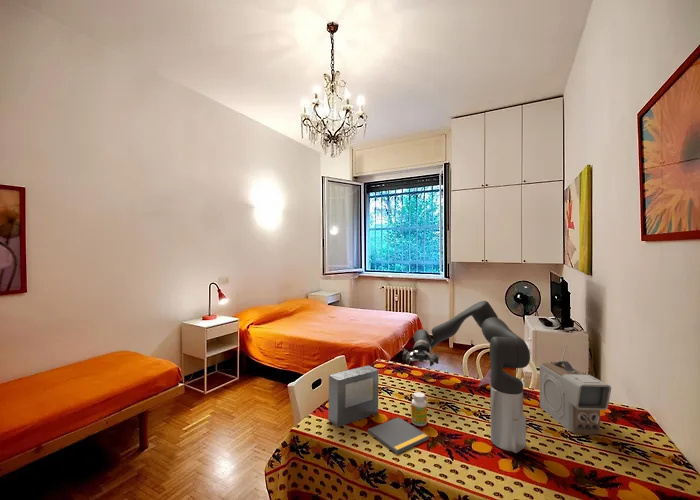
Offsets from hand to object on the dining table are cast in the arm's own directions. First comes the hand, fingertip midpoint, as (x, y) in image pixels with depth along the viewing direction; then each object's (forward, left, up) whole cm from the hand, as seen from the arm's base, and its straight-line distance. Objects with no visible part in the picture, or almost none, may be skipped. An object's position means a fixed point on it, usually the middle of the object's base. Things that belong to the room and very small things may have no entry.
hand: (419, 362), depth 124 cm
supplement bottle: (-8, +9, -17) cm, 21 cm away
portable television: (-38, -38, -17) cm, 57 cm away
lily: (-6, -39, -17) cm, 43 cm away
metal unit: (+8, +26, -17) cm, 32 cm away
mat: (-10, +21, -17) cm, 29 cm away
